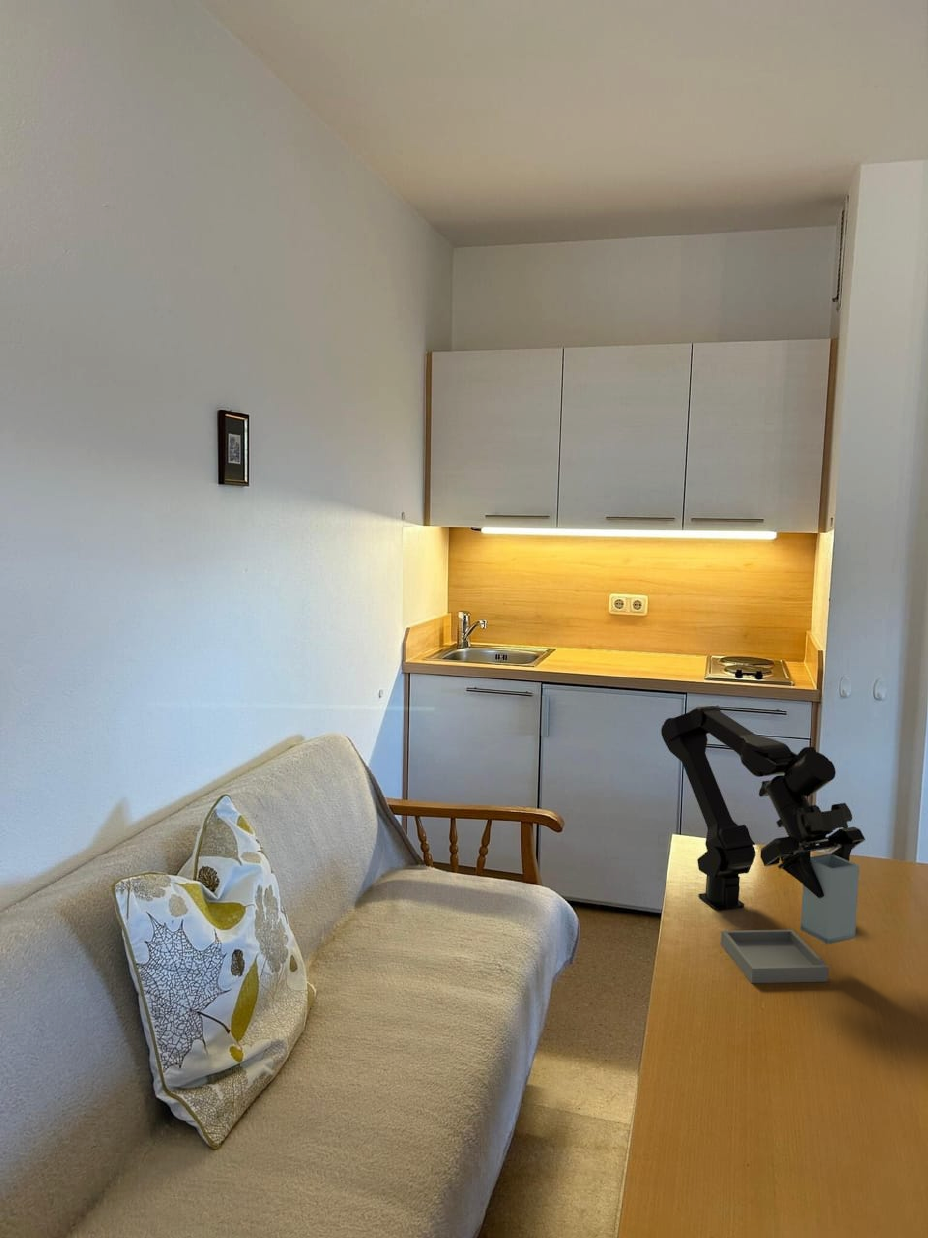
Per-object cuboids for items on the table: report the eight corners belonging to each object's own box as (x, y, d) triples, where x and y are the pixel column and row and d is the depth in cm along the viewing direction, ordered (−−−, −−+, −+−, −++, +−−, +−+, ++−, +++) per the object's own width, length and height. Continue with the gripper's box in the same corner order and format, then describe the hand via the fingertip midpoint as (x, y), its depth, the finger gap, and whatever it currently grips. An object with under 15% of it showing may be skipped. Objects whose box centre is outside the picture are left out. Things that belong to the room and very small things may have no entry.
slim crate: (800, 929, 153) (804, 858, 152) (827, 924, 155) (831, 853, 154) (827, 944, 147) (832, 870, 146) (854, 938, 150) (859, 865, 149)
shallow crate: (720, 944, 159) (721, 930, 159) (790, 943, 160) (792, 929, 160) (751, 983, 146) (752, 968, 146) (827, 981, 148) (829, 967, 147)
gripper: (778, 792, 148) (823, 883, 140) (862, 782, 156) (909, 868, 147) (741, 821, 156) (782, 909, 148) (823, 810, 164) (865, 893, 155)
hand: (836, 894), depth 149 cm, fingers closed on slim crate, 6 cm apart
